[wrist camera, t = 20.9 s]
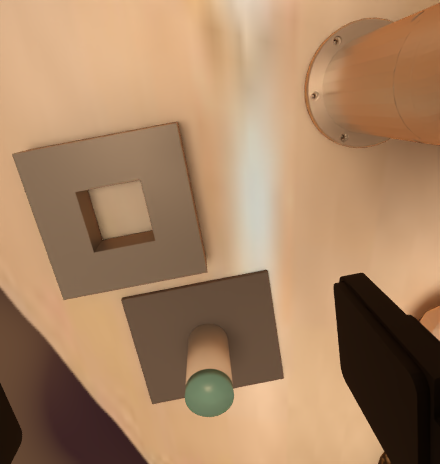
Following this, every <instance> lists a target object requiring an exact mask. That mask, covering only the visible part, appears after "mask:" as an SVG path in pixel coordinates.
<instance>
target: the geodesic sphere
mask: <svg viewBox="0 0 440 464" xmlns="http://www.w3.org/2000/svg"><path fill="white" fill-rule="evenodd" d="M420 323H421V324H422V325H423V326H424V327H425V328H426V329H428V330H429V331H430V332H431V333H432V334H433V335H434V336H435V337H436V338H437V339H438V340H439V341H440V306H438V307H436V308H433V309H431V310H429V311H427V312H426V313H425V314H424V316H423V317H422V319H421V321H420Z"/></svg>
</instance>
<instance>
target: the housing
mask: <svg viewBox="0 0 440 464" xmlns="http://www.w3.org/2000/svg"><path fill="white" fill-rule="evenodd" d="M12 155H13V158H14V161H15V164H16V167H17V170H18V172H19V175H20V178H21V181H22V184H23V187H24V189H25V192H26V195H27V198H28V201H29V204H30V206H31V209H32V212H33V215H34V218H35V220H36V223H37V226H38V229H39V232H40V235H41V237H42V240H43V243H44V246H45V249H46V252H47V254H48V257H49V260H50V263H51V266H52V268H53V271H54V274H55V277H56V280H57V283H58V285H59V288H60V291H61V294H62V297H63V300H66V299H71V298H77V297H82V296H87V295H92V294H97V293H102V292H108V291H113V290H118V289H123V288H128V287H134V286H139V285H144V284H149V283H154V282H159V281H165V280H170V279H175V278H180V277H185V276H191V275H196V274H201V273H206V272H207V262H206V255H205V250H204V246H203V241H202V236H201V231H200V226H199V221H198V216H197V212H196V207H195V202H194V197H193V192H192V187H191V183H190V178H189V173H188V168H187V163H186V158H185V153H184V149H183V144H182V139H181V134H180V129H179V124H178V122H173V123H167V124H162V125H157V126H152V127H146V128H141V129H136V130H130V131H125V132H120V133H115V134H109V135H104V136H99V137H93V138H88V139H83V140H78V141H72V142H67V143H62V144H56V145H51V146H46V147H40V148H35V149H30V150H26V151H22V152H18V153H14V154H12ZM137 180H140V181H141V185H142V189H143V193H144V197H145V201H146V205H147V209H148V213H149V217H150V221H151V225H152V229H153V230H152V231H147V232H141V233H136V234H131V235H126V236H121V237H115V238H110V239H105V240H102V237H101V233H100V230H99V227H98V223H97V220H96V217H95V213H94V210H93V207H92V203H91V200H90V197H89V193H88V190H89V189H95V188H100V187H105V186H110V185H116V184H121V183H126V182H131V181H137Z"/></svg>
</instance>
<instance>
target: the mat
mask: <svg viewBox="0 0 440 464" xmlns="http://www.w3.org/2000/svg"><path fill="white" fill-rule="evenodd" d="M121 301H122V304H123V307H124V311H125V314H126V317H127V321H128V324H129V327H130V331H131V334H132V338H133V341H134V344H135V348H136V351H137V354H138V358H139V361H140V364H141V368H142V371H143V374H144V378H145V381H146V385H147V388H148V391H149V395H150V398H151V401H152V404H156V403H161V402H166V401H171V400H176V399H181V398H185V387H186V371H187V356H188V340H189V336H190V334H191V332H192V331H193V330H194V329H195V328H196V327H198V326H200V325H203V324H214V325H217V326H219V327H221V328H222V329H223V330H224V331H225V333H226V335H227V338H228V347H229V356H230V365H231V374H232V383H233V388H237V387H243V386H248V385H253V384H258V383H263V382H268V381H273V380H278V379H283V378H284V376H283V370H282V363H281V356H280V350H279V343H278V336H277V330H276V323H275V316H274V310H273V303H272V296H271V290H270V283H269V277H268V271H267V270H263V271H258V272H253V273H248V274H243V275H238V276H232V277H227V278H222V279H217V280H212V281H206V282H201V283H196V284H191V285H186V286H181V287H175V288H170V289H165V290H160V291H155V292H150V293H144V294H139V295H134V296H129V297H124V298H122V300H121Z"/></svg>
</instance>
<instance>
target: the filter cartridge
mask: <svg viewBox="0 0 440 464" xmlns="http://www.w3.org/2000/svg"><path fill="white" fill-rule="evenodd" d="M233 400H234V392H233V383H232V374H231V365H230V356H229V347H228V338H227V335H226V333H225V331H224V330H223V329H222V328H221V327H219V326H217V325H214V324H203V325H200V326H198V327H196V328H195V329H194V330H193V331H192V332H191V334H190V336H189V340H188V356H187V371H186V387H185V402H186V404H187V406H188V408H189V409H190V410H191V411H192V412H194V413H195V414H197V415H200V416H204V417H214V416H218V415H220V414H222V413H224V412H226V411H227V410H228V409H229V408H230V406H231V405H232V403H233Z"/></svg>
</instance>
